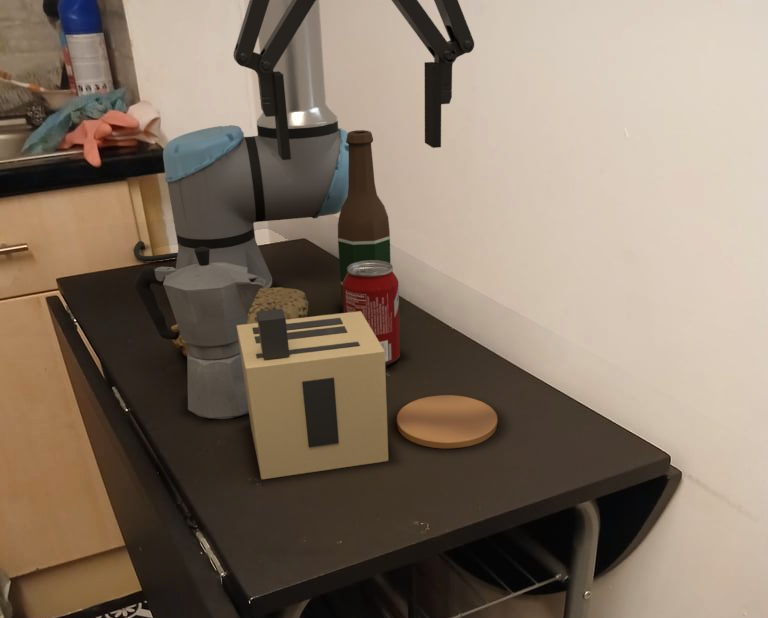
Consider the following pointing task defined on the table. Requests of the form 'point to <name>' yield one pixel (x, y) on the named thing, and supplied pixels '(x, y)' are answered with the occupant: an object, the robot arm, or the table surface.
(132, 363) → the table surface
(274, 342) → the browning slider
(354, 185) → the beer bottle
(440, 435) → the coaster
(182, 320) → the coffeepot
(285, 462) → the toaster
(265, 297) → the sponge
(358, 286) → the soda can
